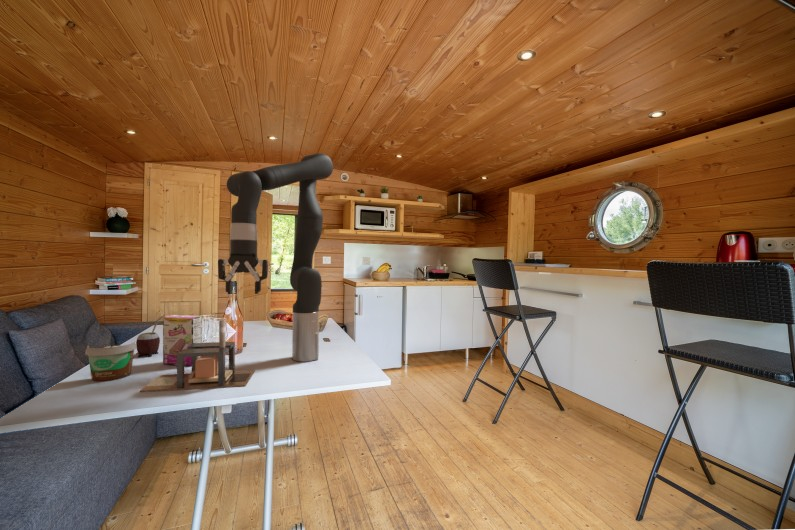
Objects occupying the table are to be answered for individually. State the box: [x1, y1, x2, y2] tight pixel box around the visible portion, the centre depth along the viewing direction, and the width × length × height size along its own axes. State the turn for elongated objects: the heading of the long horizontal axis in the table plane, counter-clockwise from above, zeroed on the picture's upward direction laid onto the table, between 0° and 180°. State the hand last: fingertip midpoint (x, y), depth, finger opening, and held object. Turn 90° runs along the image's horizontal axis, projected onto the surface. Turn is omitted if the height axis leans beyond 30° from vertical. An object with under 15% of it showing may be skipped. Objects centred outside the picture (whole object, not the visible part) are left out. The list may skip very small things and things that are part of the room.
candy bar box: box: [162, 314, 203, 367], centre depth 119 cm, size 11×5×16 cm, turn 84°
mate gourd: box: [135, 314, 166, 358], centre depth 129 cm, size 8×8×15 cm
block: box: [195, 356, 218, 378], centre depth 103 cm, size 5×5×5 cm
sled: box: [188, 319, 233, 383], centre depth 103 cm, size 10×7×17 cm
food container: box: [84, 341, 137, 383], centre depth 104 cm, size 12×6×10 cm, turn 117°
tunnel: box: [139, 341, 256, 393], centre depth 103 cm, size 27×13×10 cm, turn 101°
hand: (243, 293), depth 105 cm, fingers open, 7 cm apart
